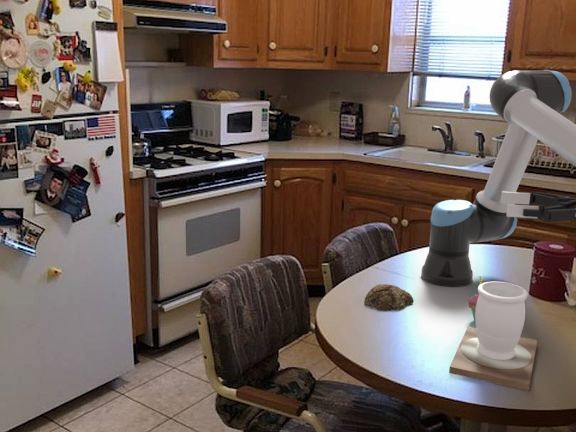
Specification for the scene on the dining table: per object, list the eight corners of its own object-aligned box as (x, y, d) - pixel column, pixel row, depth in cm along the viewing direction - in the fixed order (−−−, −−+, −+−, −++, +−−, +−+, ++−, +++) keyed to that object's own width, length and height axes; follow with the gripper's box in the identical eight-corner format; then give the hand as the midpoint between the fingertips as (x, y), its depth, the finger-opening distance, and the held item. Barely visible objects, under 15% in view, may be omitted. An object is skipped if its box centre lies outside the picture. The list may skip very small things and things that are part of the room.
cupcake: (465, 324, 156) (469, 280, 152) (467, 311, 163) (472, 269, 160) (501, 330, 153) (506, 285, 150) (502, 316, 160) (506, 273, 157)
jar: (523, 365, 132) (531, 300, 128) (473, 360, 134) (480, 296, 130) (516, 343, 142) (523, 282, 138) (470, 339, 144) (475, 278, 140)
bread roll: (380, 290, 178) (380, 274, 177) (418, 301, 170) (419, 285, 169) (355, 304, 169) (355, 287, 167) (394, 316, 161) (395, 298, 160)
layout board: (467, 332, 151) (467, 326, 151) (536, 345, 145) (537, 339, 144) (449, 372, 132) (449, 365, 132) (528, 390, 126) (529, 383, 125)
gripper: (613, 240, 130) (508, 233, 135) (587, 212, 154) (498, 206, 159) (618, 206, 128) (511, 199, 133) (591, 182, 152) (501, 177, 157)
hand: (504, 203), depth 146 cm, fingers open, 13 cm apart
